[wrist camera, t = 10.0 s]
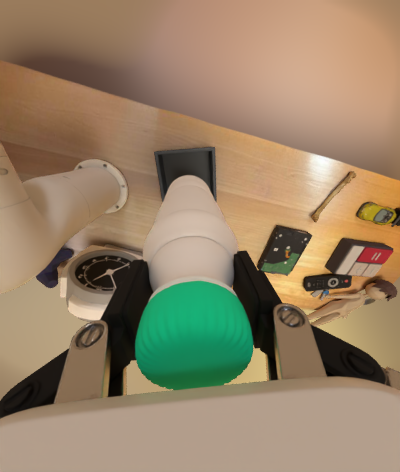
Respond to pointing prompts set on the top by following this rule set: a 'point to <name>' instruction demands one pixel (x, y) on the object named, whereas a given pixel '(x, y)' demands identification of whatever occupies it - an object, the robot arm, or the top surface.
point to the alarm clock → (95, 279)
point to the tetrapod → (53, 269)
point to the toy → (352, 302)
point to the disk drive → (283, 250)
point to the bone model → (337, 190)
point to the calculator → (358, 258)
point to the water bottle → (192, 295)
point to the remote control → (327, 282)
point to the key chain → (320, 292)
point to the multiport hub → (399, 213)
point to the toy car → (377, 214)
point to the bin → (186, 167)
